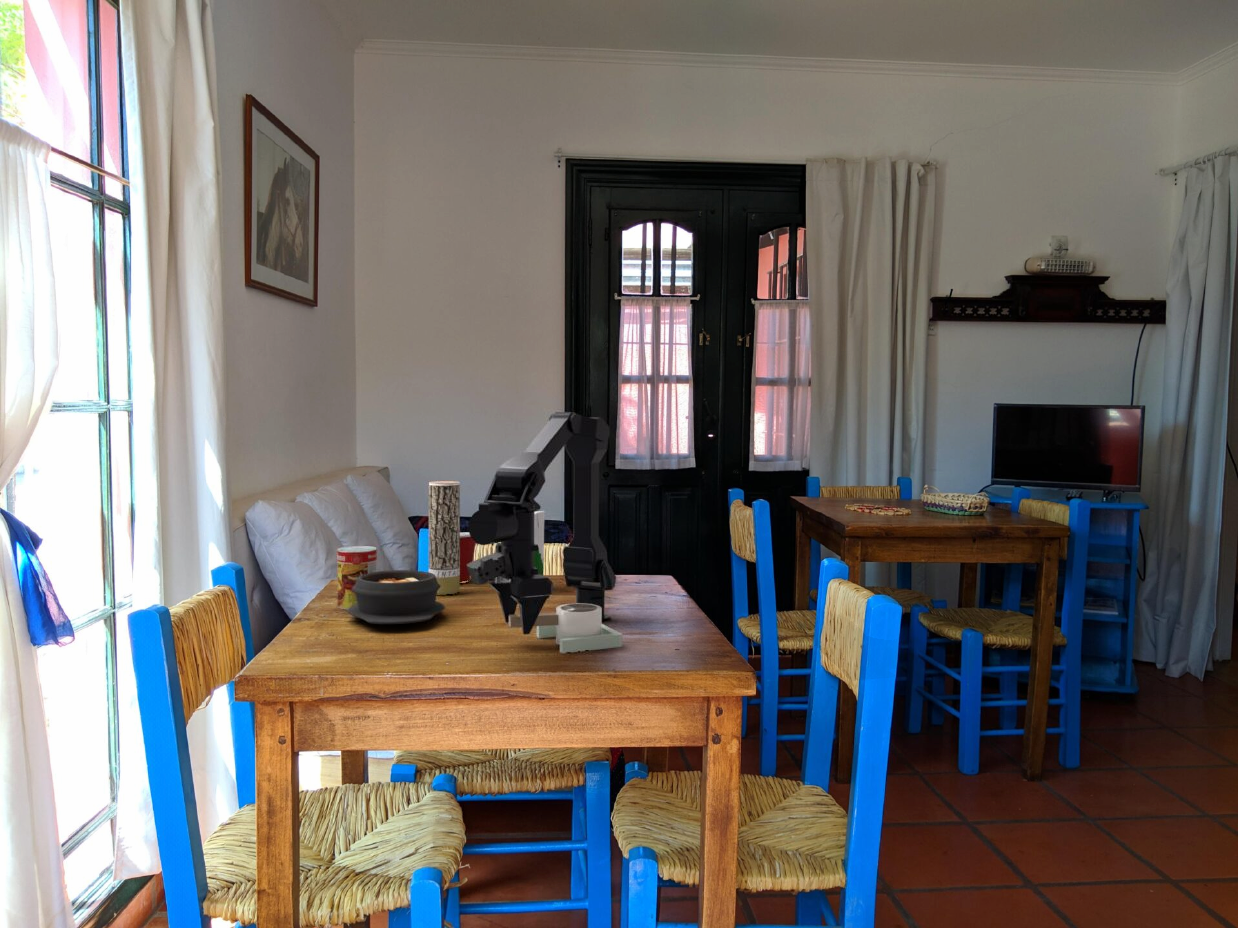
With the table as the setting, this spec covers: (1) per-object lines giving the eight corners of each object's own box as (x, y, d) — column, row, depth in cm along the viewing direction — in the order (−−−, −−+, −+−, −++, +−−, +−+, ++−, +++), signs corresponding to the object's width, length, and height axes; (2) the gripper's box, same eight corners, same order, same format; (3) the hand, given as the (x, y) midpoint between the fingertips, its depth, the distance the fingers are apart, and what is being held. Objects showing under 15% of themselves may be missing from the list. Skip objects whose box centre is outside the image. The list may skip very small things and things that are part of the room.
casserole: (451, 630, 166) (451, 585, 166) (347, 636, 161) (346, 590, 160) (438, 603, 190) (438, 564, 190) (347, 607, 185) (347, 567, 184)
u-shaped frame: (536, 636, 161) (536, 624, 161) (593, 630, 166) (593, 619, 166) (562, 653, 150) (562, 640, 150) (622, 646, 155) (622, 634, 155)
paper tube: (422, 592, 201) (422, 482, 199) (448, 589, 205) (448, 480, 204) (439, 597, 196) (439, 483, 194) (465, 593, 200) (465, 482, 199)
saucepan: (595, 636, 162) (595, 601, 162) (606, 647, 155) (606, 611, 154) (506, 641, 158) (506, 606, 158) (512, 653, 150) (513, 615, 150)
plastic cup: (458, 576, 222) (458, 528, 221) (488, 582, 215) (488, 532, 214) (423, 582, 213) (423, 532, 213) (453, 588, 206) (453, 536, 206)
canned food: (342, 601, 190) (341, 546, 189) (379, 601, 191) (379, 545, 190) (333, 609, 182) (333, 551, 182) (373, 609, 183) (373, 551, 182)
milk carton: (547, 586, 210) (548, 501, 209) (533, 593, 201) (533, 505, 200) (513, 584, 212) (513, 500, 211) (497, 591, 203) (497, 503, 202)
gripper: (456, 533, 158) (456, 621, 158) (488, 548, 141) (488, 645, 142) (516, 530, 162) (516, 615, 163) (554, 544, 146) (553, 638, 146)
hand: (517, 628), depth 154 cm, fingers open, 9 cm apart
